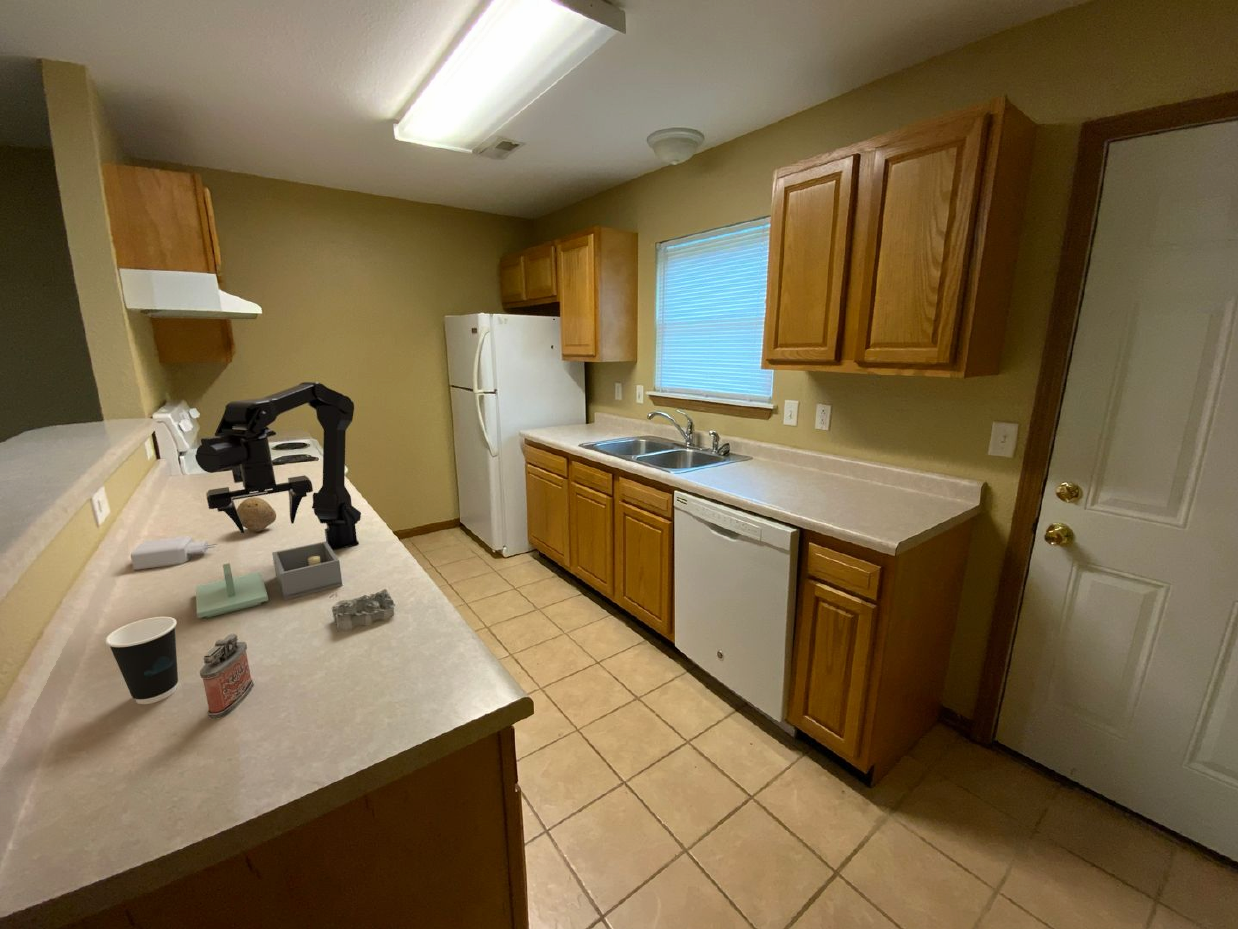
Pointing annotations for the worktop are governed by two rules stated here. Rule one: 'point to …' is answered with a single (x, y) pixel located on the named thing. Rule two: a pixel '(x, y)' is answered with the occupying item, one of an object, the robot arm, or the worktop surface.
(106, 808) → the worktop surface
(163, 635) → the dixie cup
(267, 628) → the worktop surface
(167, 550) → the charger
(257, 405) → the robot arm
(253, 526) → the brown potato
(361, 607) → the egg carton
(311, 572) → the tub
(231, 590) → the lid
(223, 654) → the lighter
